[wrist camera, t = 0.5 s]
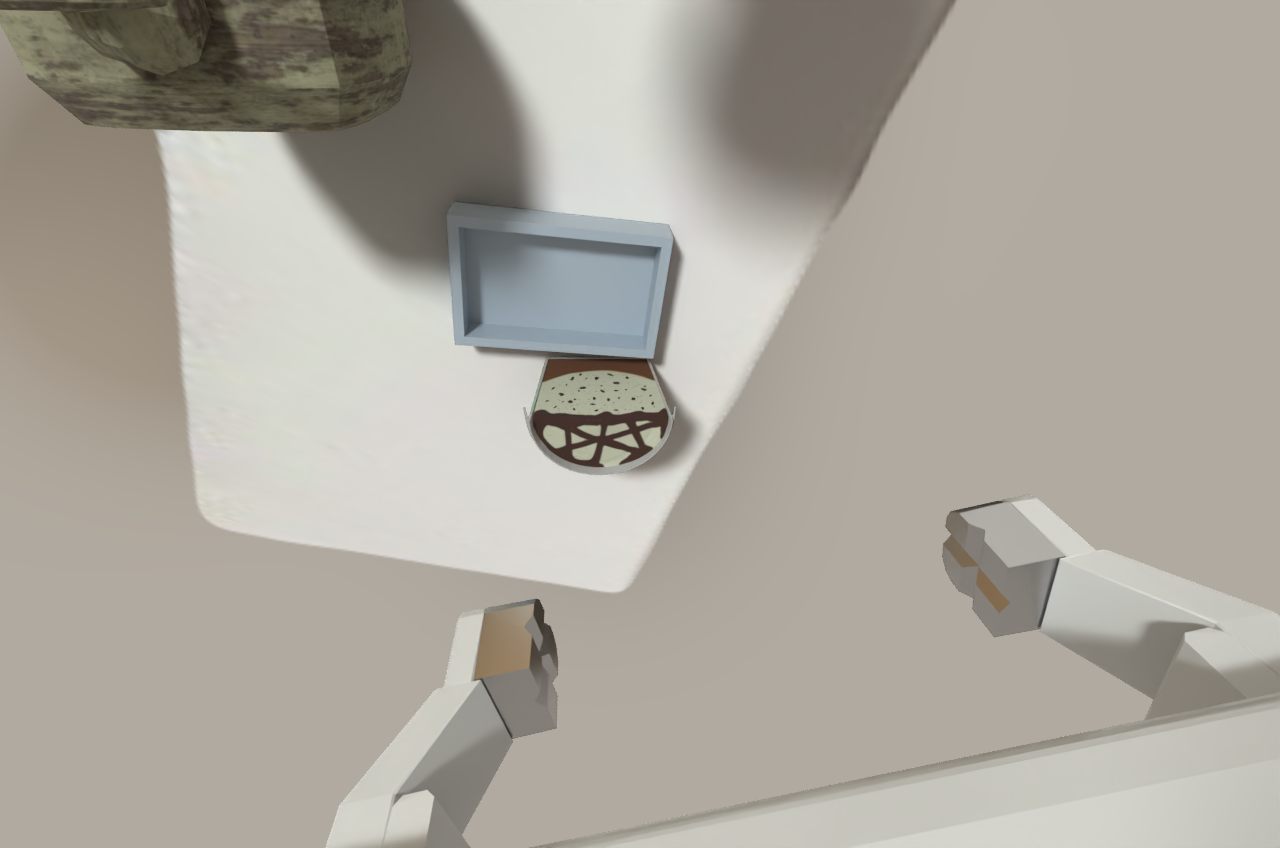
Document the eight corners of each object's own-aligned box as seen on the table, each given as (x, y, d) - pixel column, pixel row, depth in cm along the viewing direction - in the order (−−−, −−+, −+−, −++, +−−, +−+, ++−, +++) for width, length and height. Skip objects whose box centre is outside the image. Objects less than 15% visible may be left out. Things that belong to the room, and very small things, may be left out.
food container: (533, 411, 56) (526, 481, 48) (529, 356, 53) (521, 422, 45) (659, 410, 57) (672, 478, 50) (664, 356, 54) (679, 421, 46)
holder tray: (453, 201, 44) (446, 214, 41) (668, 224, 46) (673, 237, 44) (460, 326, 50) (454, 344, 48) (649, 341, 53) (653, 358, 50)
